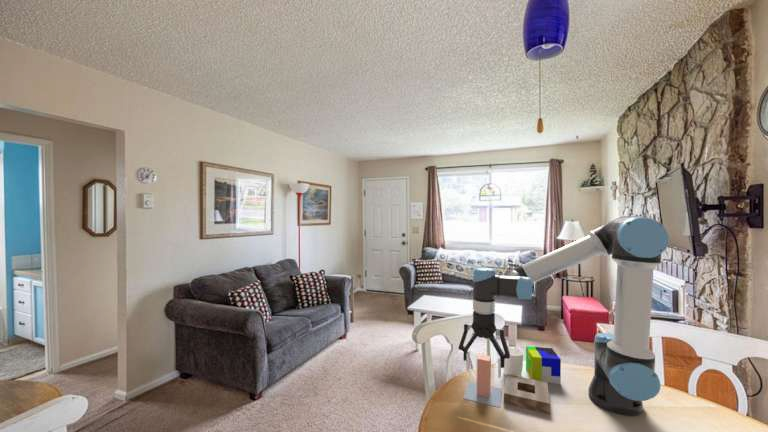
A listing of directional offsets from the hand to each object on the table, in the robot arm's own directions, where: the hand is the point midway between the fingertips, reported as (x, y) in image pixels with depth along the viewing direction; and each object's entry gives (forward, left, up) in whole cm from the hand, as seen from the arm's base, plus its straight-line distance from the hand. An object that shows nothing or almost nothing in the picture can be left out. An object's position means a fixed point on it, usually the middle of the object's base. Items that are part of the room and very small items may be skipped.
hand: (483, 372), depth 111 cm
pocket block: (-14, -4, -8) cm, 17 cm away
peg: (0, 0, -7) cm, 7 cm away
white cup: (-9, -19, -8) cm, 23 cm away
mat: (0, 0, -8) cm, 8 cm away
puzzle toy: (-20, -23, -8) cm, 32 cm away
